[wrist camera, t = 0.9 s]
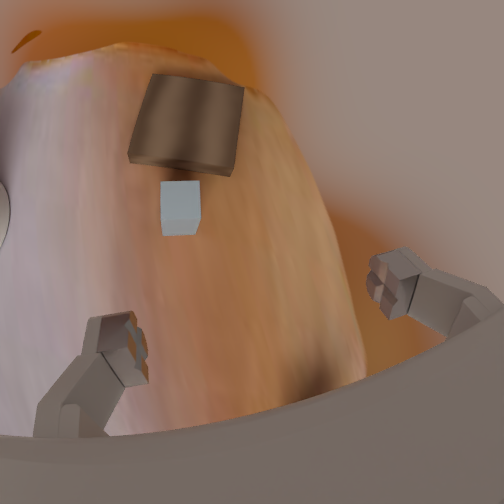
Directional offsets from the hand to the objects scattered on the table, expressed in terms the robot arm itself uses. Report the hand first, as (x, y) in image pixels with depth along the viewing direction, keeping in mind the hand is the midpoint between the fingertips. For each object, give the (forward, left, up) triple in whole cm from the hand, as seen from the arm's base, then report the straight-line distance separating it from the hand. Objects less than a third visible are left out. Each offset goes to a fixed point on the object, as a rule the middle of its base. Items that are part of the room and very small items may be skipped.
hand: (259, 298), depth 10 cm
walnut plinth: (-4, +24, -30) cm, 39 cm away
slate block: (-3, +10, -30) cm, 31 cm away
